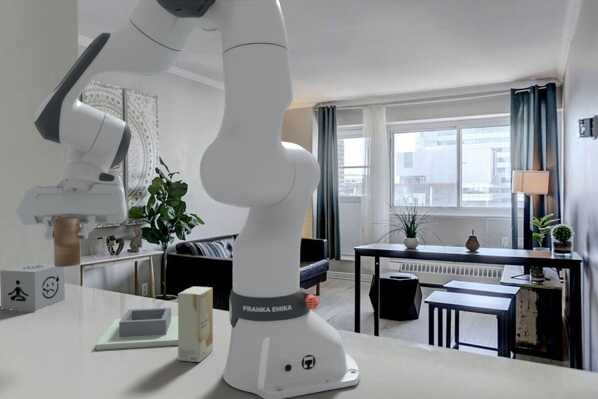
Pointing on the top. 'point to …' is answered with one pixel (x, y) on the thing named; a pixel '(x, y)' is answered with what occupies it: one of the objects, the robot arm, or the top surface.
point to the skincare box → (195, 323)
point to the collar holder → (141, 330)
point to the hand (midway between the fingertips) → (66, 237)
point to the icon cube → (31, 286)
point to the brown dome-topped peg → (66, 242)
